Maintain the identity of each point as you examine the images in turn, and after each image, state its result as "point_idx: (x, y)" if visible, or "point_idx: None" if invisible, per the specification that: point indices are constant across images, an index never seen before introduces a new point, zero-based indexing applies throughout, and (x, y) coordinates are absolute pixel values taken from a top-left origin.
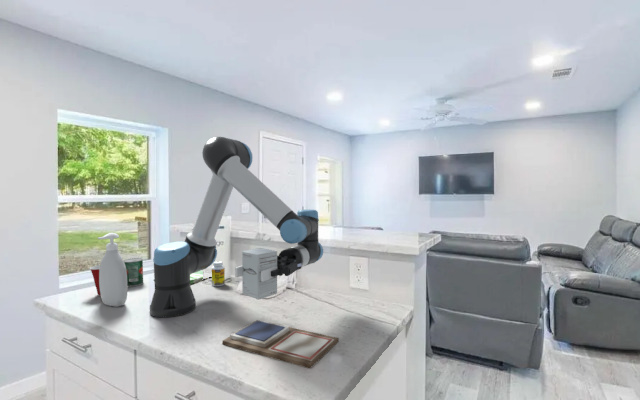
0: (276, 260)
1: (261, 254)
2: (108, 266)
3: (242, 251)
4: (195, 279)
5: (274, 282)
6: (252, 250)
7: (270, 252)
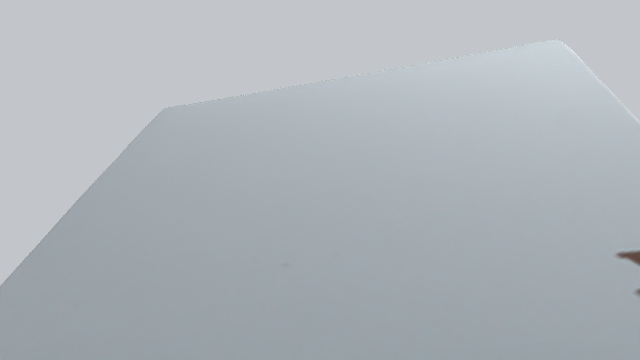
0: None
1: (138, 143)
2: None
3: (549, 40)
4: None
5: None
6: (477, 103)
7: (29, 254)
